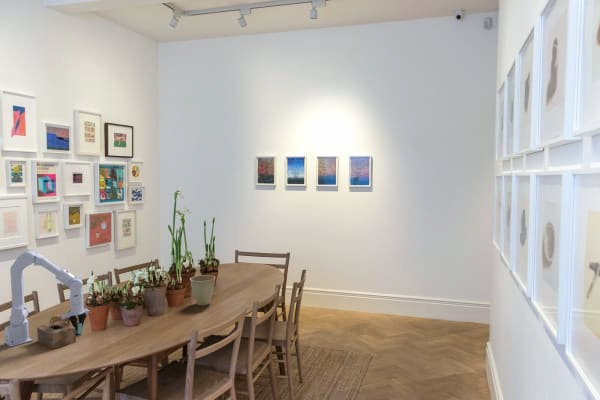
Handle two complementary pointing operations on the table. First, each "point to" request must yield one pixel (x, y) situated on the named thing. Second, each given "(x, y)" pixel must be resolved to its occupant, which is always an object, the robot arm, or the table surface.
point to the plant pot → (202, 288)
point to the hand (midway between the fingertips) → (78, 329)
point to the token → (79, 328)
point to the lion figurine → (58, 318)
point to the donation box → (56, 334)
